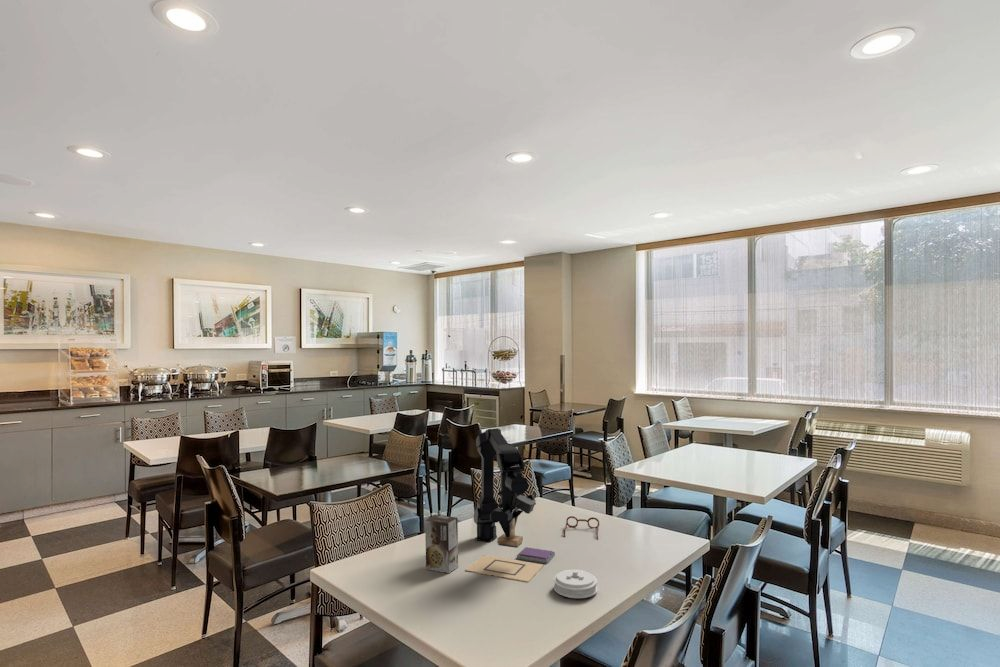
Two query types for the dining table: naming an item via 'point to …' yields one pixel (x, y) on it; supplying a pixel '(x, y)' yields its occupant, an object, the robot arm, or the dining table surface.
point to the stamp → (510, 538)
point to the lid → (575, 584)
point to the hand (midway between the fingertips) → (509, 535)
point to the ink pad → (536, 555)
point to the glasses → (581, 520)
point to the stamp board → (505, 568)
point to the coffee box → (441, 543)
